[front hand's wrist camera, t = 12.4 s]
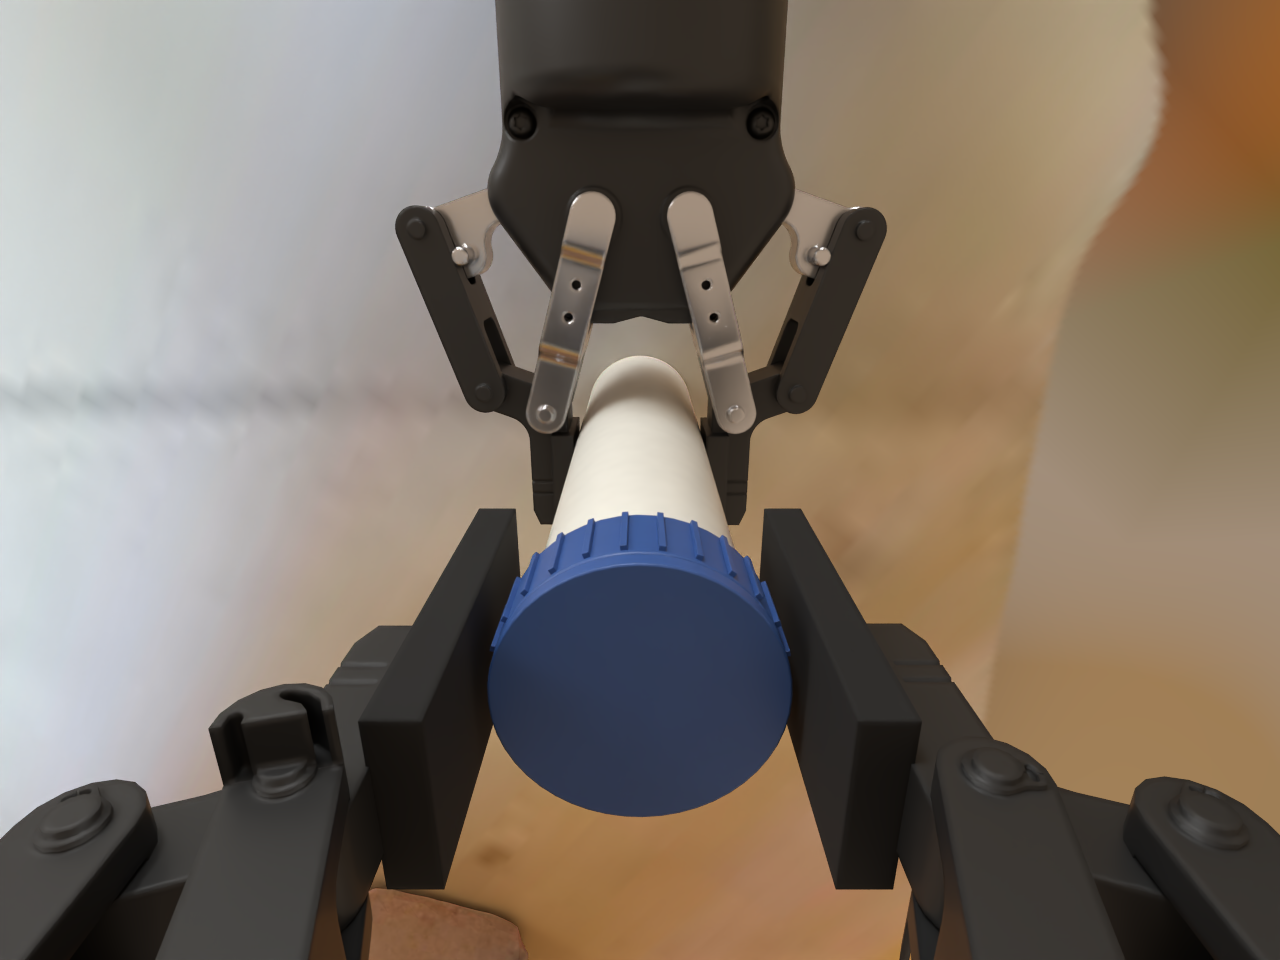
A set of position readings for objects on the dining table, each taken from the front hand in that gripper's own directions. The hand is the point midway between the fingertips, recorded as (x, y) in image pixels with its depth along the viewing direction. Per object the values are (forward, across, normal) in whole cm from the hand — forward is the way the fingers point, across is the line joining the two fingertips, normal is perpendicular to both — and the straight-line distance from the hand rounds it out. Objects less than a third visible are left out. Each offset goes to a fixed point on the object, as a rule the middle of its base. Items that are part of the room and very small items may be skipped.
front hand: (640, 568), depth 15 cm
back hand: (+8, 0, -3) cm, 8 cm away
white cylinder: (+14, 0, 0) cm, 14 cm away
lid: (-4, 0, 0) cm, 4 cm away
